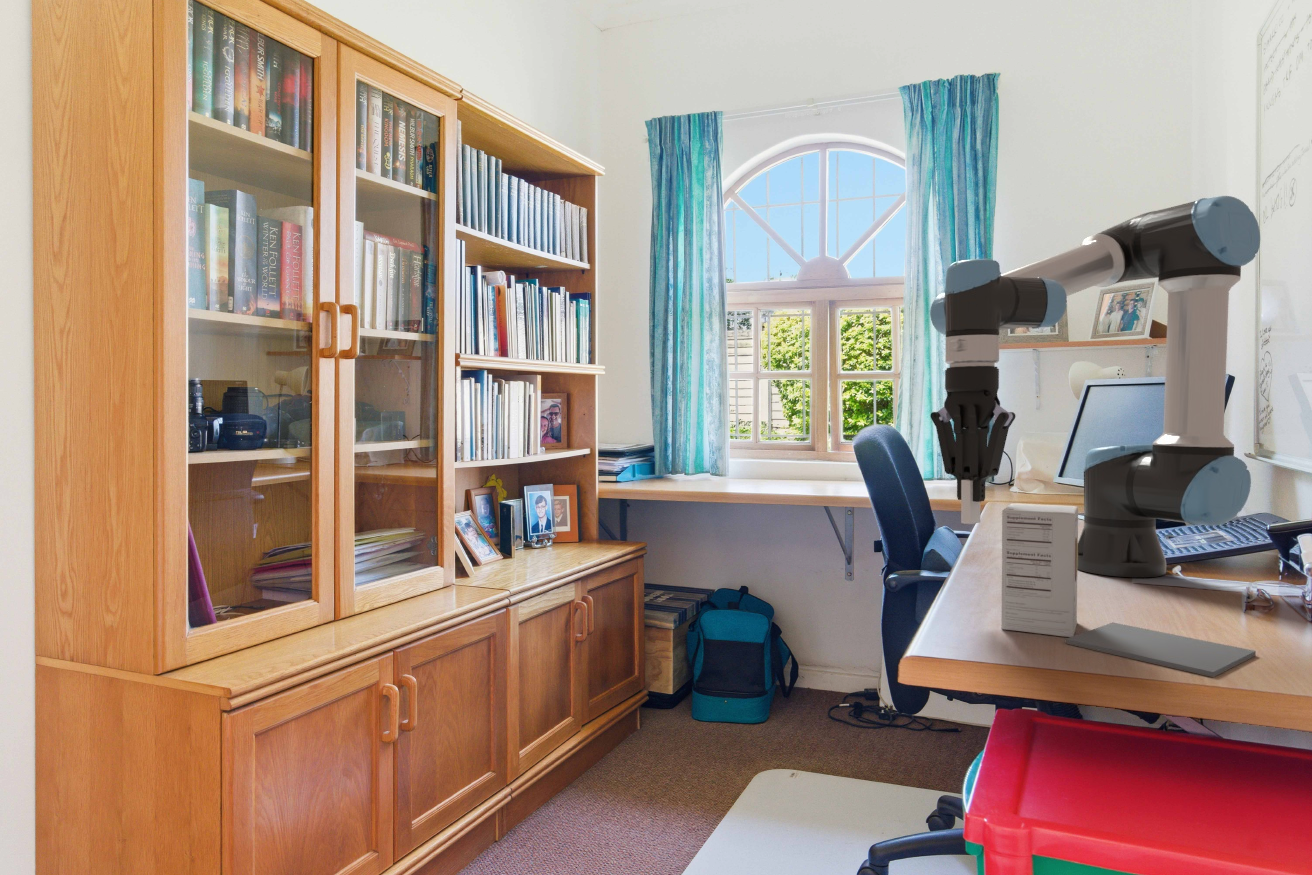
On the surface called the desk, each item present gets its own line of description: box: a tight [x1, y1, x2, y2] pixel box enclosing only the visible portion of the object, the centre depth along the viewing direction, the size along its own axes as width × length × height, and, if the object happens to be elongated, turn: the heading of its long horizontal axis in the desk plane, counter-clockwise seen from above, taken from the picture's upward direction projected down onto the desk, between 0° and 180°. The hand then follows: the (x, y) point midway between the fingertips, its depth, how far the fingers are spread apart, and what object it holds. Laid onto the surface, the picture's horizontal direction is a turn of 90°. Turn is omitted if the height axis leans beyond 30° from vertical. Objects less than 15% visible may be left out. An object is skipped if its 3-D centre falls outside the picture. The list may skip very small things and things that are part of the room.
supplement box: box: [1000, 502, 1079, 638], centre depth 117 cm, size 10×9×17 cm
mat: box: [1065, 622, 1256, 678], centre depth 106 cm, size 13×17×1 cm
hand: (970, 522), depth 125 cm, fingers closed
